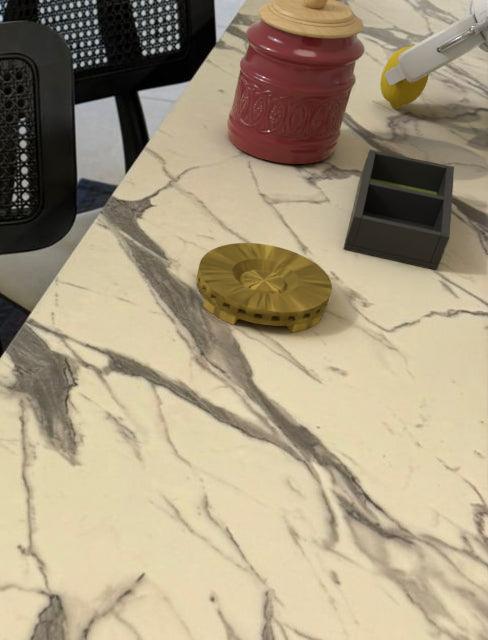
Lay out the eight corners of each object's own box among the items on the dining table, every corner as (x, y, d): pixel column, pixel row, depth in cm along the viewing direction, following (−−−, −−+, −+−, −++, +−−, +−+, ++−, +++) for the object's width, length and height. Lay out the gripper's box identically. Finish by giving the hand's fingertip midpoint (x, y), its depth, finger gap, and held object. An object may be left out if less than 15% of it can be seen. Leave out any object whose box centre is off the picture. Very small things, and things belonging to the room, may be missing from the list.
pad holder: (442, 197, 113) (454, 166, 110) (436, 270, 100) (449, 237, 98) (359, 179, 115) (369, 149, 112) (343, 249, 102) (353, 216, 100)
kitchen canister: (225, 114, 126) (258, -41, 114) (331, 128, 125) (375, -26, 113) (223, 157, 117) (258, -7, 105) (338, 173, 115) (386, 9, 104)
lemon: (389, 96, 135) (408, 34, 129) (425, 111, 132) (446, 48, 126) (364, 105, 132) (383, 41, 126) (400, 120, 129) (421, 55, 123)
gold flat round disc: (194, 323, 90) (199, 301, 89) (194, 256, 99) (198, 236, 97) (331, 341, 89) (338, 319, 88) (319, 272, 98) (325, 252, 97)
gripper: (484, 57, 112) (375, 116, 123) (547, 19, 125) (443, 76, 135) (460, 3, 111) (352, 68, 122) (526, -29, 124) (423, 32, 135)
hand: (401, 72), depth 129 cm, fingers closed on lemon, 5 cm apart
